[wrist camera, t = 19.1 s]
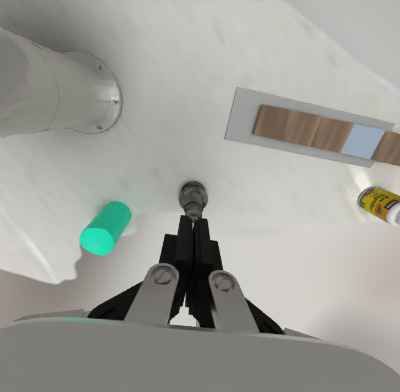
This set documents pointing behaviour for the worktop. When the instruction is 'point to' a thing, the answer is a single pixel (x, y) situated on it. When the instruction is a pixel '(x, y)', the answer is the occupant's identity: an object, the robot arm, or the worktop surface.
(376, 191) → the supplement bottle
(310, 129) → the tile
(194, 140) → the worktop surface
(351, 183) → the worktop surface
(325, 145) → the tile
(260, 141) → the mat
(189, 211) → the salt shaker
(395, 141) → the tile
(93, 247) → the candle
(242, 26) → the worktop surface
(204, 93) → the worktop surface
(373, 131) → the slate tile
